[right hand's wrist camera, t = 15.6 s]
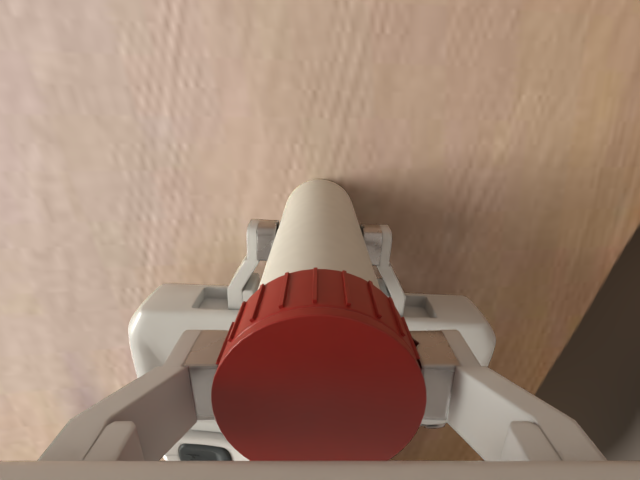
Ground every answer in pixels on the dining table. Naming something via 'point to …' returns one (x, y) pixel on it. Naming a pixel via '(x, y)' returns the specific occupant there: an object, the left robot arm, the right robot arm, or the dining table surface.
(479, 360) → the left robot arm
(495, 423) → the right robot arm
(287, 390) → the lid
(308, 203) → the bottle
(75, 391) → the dining table surface
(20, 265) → the dining table surface
